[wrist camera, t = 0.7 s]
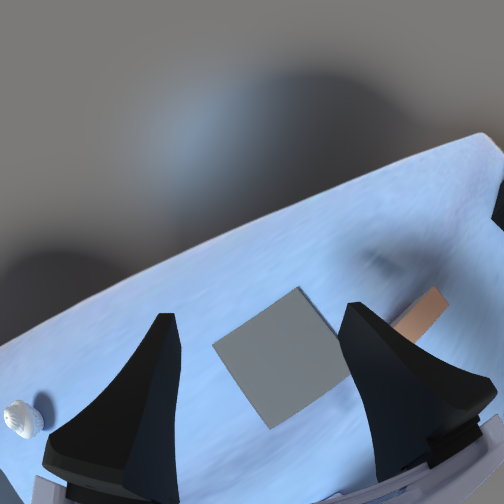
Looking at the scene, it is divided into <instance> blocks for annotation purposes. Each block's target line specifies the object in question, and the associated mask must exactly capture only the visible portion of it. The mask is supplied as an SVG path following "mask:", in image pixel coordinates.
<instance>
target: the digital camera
mask: <svg viewBox="0 0 504 504" xmlns="http://www.w3.org/2000/svg"><path fill="white" fill-rule="evenodd" d="M491 219H492V220H493V221H494V222H495V223H496V224H497V225H498V226H499V227H500V228H501V229H502V230H503V231H504V180H503V182H502V183H501V185H500V188H499V192H498V196H497V200H496V204H495V207H494V211H493V214H492V217H491Z"/></svg>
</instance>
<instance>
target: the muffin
mask: <svg viewBox="0 0 504 504" xmlns="http://www.w3.org/2000/svg"><path fill="white" fill-rule="evenodd" d="M4 418H5V421H6V423H7V426H8V427H9V428H10V429H13V430H15V431H16V432H17V433H18V434H19V435H20V436H21V437H23V438H26V439H30V438H32V437H34V436H36V435H37V434H38V433H39V432H40V431H41V430H42V429H43V427H44V420H43V418H42V415H41V414H40V412H39V411H37V410H36V409H35V408H33V407H32V406H30V405H29V404H28V403H26V402H23V401H21V400H16V401H14V402H13V403H12V405H11V406H10V407H7V408H6V409H5V411H4Z"/></svg>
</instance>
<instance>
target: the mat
mask: <svg viewBox="0 0 504 504" xmlns="http://www.w3.org/2000/svg"><path fill="white" fill-rule="evenodd" d="M212 346H213V348H214V349H215V351H216V352H217V354H218V355H219V357H220V359H221V360H222V362H223V363H224V365H225V366H226V368H227V369H228V371H229V373H230V374H231V376H232V377H233V379H234V380H235V382H236V383H237V385H238V386H239V387H240V389H241V390H242V392H243V393H244V395H245V396H246V398H247V399H248V401H249V402H250V403H251V405H252V406H253V408H254V409H255V410H256V412H257V413H258V415H259V416H260V417H261V419H262V420H263V421H264V423H265V424H266V425H267V427H268V428H269V429H272V428H274V427H275V426H277V425H279V424H280V423H282V422H283V421H285V420H287V419H288V418H290V417H291V416H293V415H294V414H296V413H298V412H299V411H301V410H302V409H304V408H305V407H307V406H308V405H309V404H311V403H312V402H314V401H315V400H317V399H318V398H319V397H321V396H322V395H324V394H325V393H326V392H328V391H329V390H330V389H332V388H333V387H334V386H336V385H337V384H338V383H340V382H341V381H342V380H343V379H345V378H346V377H347V376H349V375H350V374H351V373H350V371H349V368H348V366H347V364H346V361H345V359H344V357H343V354H342V351H341V347H340V344H339V340H338V339H337V338H336V337H335V335H334V334H333V333H332V331H331V330H330V329H329V328H328V326H327V325H326V324H325V322H324V321H323V320H322V319H321V317H320V316H319V315H318V314H317V312H316V311H315V310H314V308H313V307H312V306H311V305H310V303H309V302H308V301H307V300H306V298H305V297H304V296H303V295H302V293H301V292H300V291H299V289H298V288H297V287H296V288H295V289H294V290H292V291H291V292H289V293H288V294H287V295H285V296H284V297H282V298H281V299H279V300H278V301H277V302H275V303H274V304H272V305H271V306H269V307H268V308H267V309H265V310H264V311H262V312H261V313H259V314H258V315H256V316H255V317H253V318H252V319H250V320H249V321H247V322H246V323H244V324H243V325H241V326H240V327H238V328H237V329H235V330H234V331H232V332H231V333H229V334H228V335H226V336H225V337H223V338H222V339H220V340H219V341H217V342H215V343H214V344H212Z"/></svg>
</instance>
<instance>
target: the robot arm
mask: <svg viewBox="0 0 504 504" xmlns="http://www.w3.org/2000/svg"><path fill="white" fill-rule="evenodd" d="M338 340H339V344H340V347H341V351H342V354H343V357H344V359H345V361H346V364H347V366H348V368H349V371H350V373H351V375H352V377H353V380H354V382H355V384H356V387H357V389H358V391H359V393H360V396H361V399H362V401H363V404H364V408H365V412H366V415H367V419H368V423H369V427H370V432H371V436H372V442H373V448H374V455H375V464H376V477H377V480H378V484H375V485H373V486H370V487H367V488H364V489H362V490H359V491H356V492H352V493H349V494H346V495H342V494H341V493H336V494H334V495H333V496H331V497H329V498H328V499H326V500H324V501H320V502H316V503H311V504H365V503H367V502H370V501H373V500H375V499H378V498H380V497H383V496H385V495H388V494H390V493H392V492H395V491H397V490H399V489H400V491H399V493H398V495H397V496H396V497H393V498H391V499H389V500H386V501H384V502H381V503H379V504H461V503H462V502H463V501H465V499H467V498H468V497H469V496H470V495H471V494H472V493H473V492H474V491H475V490H476V489H477V488H478V487H479V486H480V485H481V484H482V483H483V482H484V481H485V480H486V479H487V478H488V477H489V476H490V475H491V474H492V473H493V472H494V471H495V470H496V469H497V467H499V466H500V465H501V464H502V463H503V462H504V425H503V423H502V421H501V419H500V418H499V416H498V414H495V415H494V416H493V417H492V418H490V419H489V420H488V421H486V422H485V423H484V424H483V425H481V426H480V427H479V426H478V424H477V423H478V422H479V421H480V418H479V416H478V414H479V413H480V412H481V411H482V410H483V409H484V408H485V407H486V406H487V405H488V404H489V403H490V402H491V401H492V400H493V399H494V398H495V397H496V395H497V392H498V391H497V389H496V388H495V386H494V385H493V383H492V381H491V380H490V379H489V378H487V377H483V376H480V375H476V374H473V373H470V372H467V371H465V370H462V369H459V368H457V367H455V366H452V365H450V364H448V363H446V362H444V361H442V360H440V359H438V358H436V357H434V356H433V355H431V354H429V353H428V352H426V351H424V350H423V349H421V348H420V347H418V346H417V345H415V344H414V343H412V342H411V341H410V340H408V339H407V338H405V337H404V336H403V335H401V334H400V333H399V332H397V331H396V330H395V329H394V328H392V327H391V326H390V325H389V324H387V323H386V322H385V321H384V320H382V319H381V318H380V317H379V316H378V315H376V314H375V313H374V312H373V311H371V310H370V309H369V308H368V307H366V306H365V305H364V304H362V303H361V302H353V303H348V304H347V308H346V311H345V314H344V317H343V321H342V324H341V327H340V330H339V333H338ZM180 372H181V343H180V339H179V334H178V329H177V324H176V319H175V314H174V313H159V314H158V315H157V317H156V319H155V320H154V322H153V324H152V325H151V327H150V329H149V330H148V332H147V334H146V335H145V337H144V339H143V340H142V342H141V343H140V345H139V346H138V348H137V349H136V351H135V352H134V354H133V355H132V356H131V358H130V359H129V360H128V362H127V363H126V364H125V366H124V367H123V368H122V370H121V371H120V372H119V373H118V375H117V376H116V377H115V378H114V380H113V381H112V382H111V383H110V384H109V385H108V386H107V387H106V388H105V389H104V391H103V392H102V393H101V394H100V395H99V396H98V397H97V398H96V399H95V400H94V401H93V402H92V403H90V404H89V405H88V406H87V407H86V408H85V409H83V410H82V411H81V412H80V413H79V414H78V415H76V416H75V417H74V418H73V419H71V420H70V421H69V422H67V423H66V424H64V425H63V426H61V427H60V428H59V429H57V430H56V431H54V432H53V433H51V434H49V437H48V440H47V443H46V447H45V452H44V457H43V462H42V465H43V467H44V468H45V469H46V470H48V471H49V472H51V473H53V474H54V475H56V476H58V477H59V478H61V479H63V480H65V481H67V487H64V486H62V485H60V484H57V483H55V482H52V481H49V480H47V479H45V478H42V477H40V476H38V475H36V476H35V480H34V487H33V494H32V502H31V504H179V503H180V500H179V492H178V484H177V474H176V461H175V411H176V403H177V395H178V387H179V380H180ZM401 488H402V489H401Z"/></svg>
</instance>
